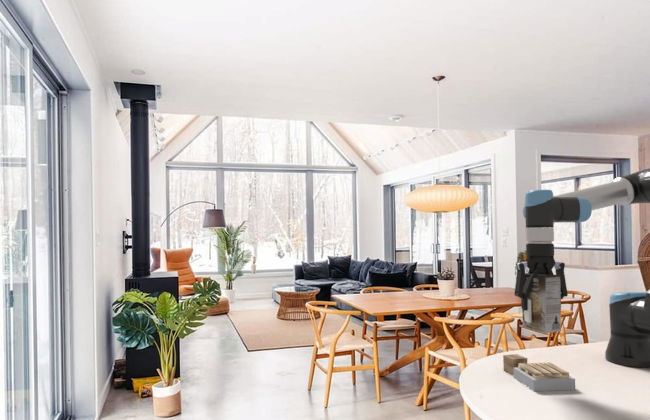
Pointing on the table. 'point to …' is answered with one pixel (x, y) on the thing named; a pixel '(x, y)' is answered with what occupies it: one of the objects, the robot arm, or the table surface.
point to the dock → (544, 382)
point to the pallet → (543, 370)
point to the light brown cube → (512, 362)
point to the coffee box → (544, 303)
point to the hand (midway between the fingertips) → (541, 321)
